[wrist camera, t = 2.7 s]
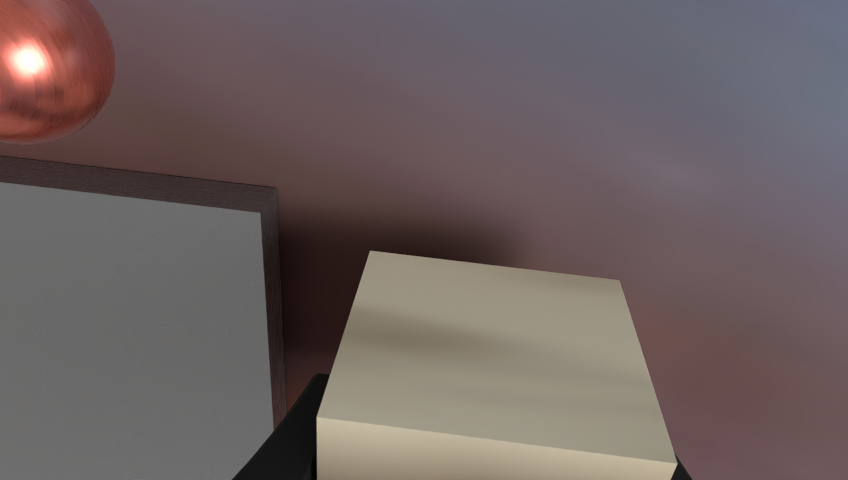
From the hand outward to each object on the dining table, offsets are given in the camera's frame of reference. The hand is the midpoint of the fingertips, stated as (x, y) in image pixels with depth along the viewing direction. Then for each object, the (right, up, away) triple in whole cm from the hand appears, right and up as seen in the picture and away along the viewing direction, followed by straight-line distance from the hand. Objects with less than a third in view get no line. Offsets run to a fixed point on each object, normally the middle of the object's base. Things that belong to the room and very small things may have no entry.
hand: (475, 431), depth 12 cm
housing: (0, +1, +2) cm, 2 cm away
